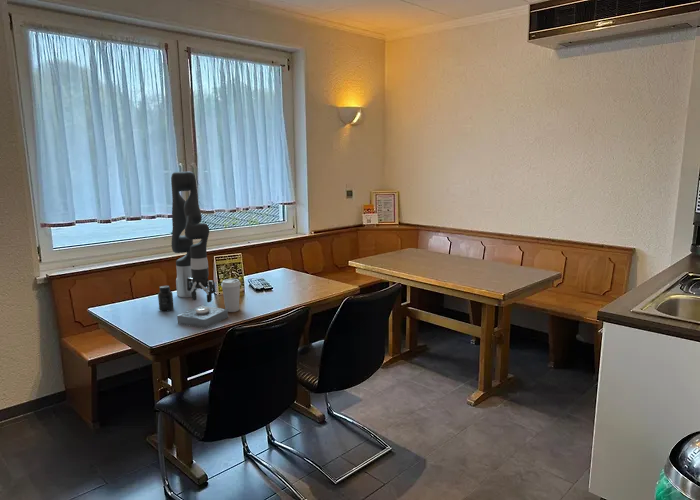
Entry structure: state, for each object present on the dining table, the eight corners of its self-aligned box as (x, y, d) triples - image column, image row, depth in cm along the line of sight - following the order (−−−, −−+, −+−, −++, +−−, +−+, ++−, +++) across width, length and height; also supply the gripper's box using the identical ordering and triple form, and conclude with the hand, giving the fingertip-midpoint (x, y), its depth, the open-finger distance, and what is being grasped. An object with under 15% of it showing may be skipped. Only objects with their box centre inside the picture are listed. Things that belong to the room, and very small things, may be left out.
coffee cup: (232, 314, 239) (230, 284, 236) (218, 311, 244) (216, 281, 241) (246, 308, 247) (244, 279, 244) (232, 306, 252) (230, 277, 249)
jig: (177, 323, 227) (177, 315, 226) (201, 313, 241) (200, 305, 240) (205, 328, 220) (205, 319, 220) (228, 317, 235) (227, 309, 234)
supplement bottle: (176, 308, 249) (174, 285, 247) (167, 312, 243) (165, 288, 241) (165, 307, 252) (163, 284, 249) (156, 311, 245) (154, 287, 243)
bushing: (193, 320, 229) (192, 310, 228) (202, 316, 235) (201, 306, 234) (204, 322, 227) (203, 311, 226) (212, 318, 232) (212, 307, 231)
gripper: (181, 267, 225) (184, 301, 229) (206, 270, 220) (208, 305, 223) (192, 263, 232) (195, 296, 235) (217, 266, 226) (219, 300, 230)
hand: (201, 300), depth 229 cm, fingers open, 8 cm apart
